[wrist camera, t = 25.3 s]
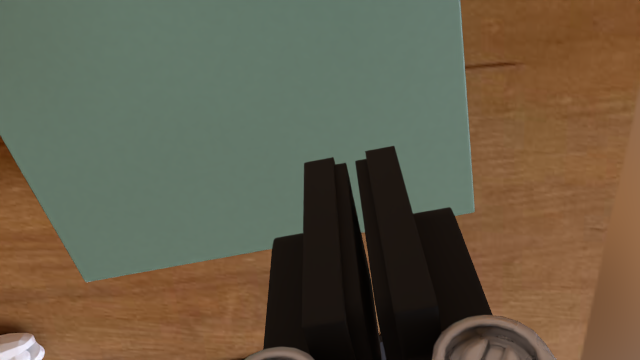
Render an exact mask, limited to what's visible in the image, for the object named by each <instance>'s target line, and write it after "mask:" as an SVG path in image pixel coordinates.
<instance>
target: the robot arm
mask: <svg viewBox="0 0 640 360" xmlns="http://www.w3.org/2000/svg"><path fill="white" fill-rule="evenodd" d="M365 153H366V159H362V160H357V161H355V164H356V171H357V178H358V186H359V193H360V200H361V207H362V214H363V221H364V228H365V235H366V242H367V249H368V256H369V263H370V270H371V277H372V284H371V278H370V273H369V268H368V263H367V258H366V254H365V249H364V244H363V240H362V235H361V230H360V225H359V221H358V216H357V211H356V207H355V202H354V197H353V192H352V188H351V183H350V178H349V174H348V169H347V165H346V163H341V164H336V165H335V161H334V158H333V157H331V158H326V159H321V160H315V161H310V162H305V163H304V200H303V233H300V234H294V235H289V236H283V237H277V238H275V239H274V240H273V246H272V257H271V269H270V280H269V292H268V303H267V314H266V326H265V337H264V349H263V350H262V351H259V352H257V353H255V354H252V355H250V356H249V357H247V358H246V359H244V360H382V355H381V348H380V341H379V334H378V326H377V319H376V312H375V305H376V311H377V317H378V322H379V327H380V332H381V337H382V342H383V346H384V351H385V356H386V360H556V358H555V357H554V355H553V354H552V352H551V351H550V350H549V348H548V347H547V345H546V344H545V342H544V341H543V340H542V339H541V338H540V337H539V336H538V335H537V334H536V333H535V332H534V331H533V330H532V329H530V328H528V327H527V326H525V325H523V324H522V323H520V322H518V321H515V320H512V319H509V318H506V317H503V316H493V315H492V313H491V310H490V307H489V305H488V302H487V299H486V297H485V294H484V292H483V289H482V286H481V284H480V281H479V278H478V276H477V273H476V271H475V268H474V265H473V263H472V260H471V257H470V255H469V252H468V250H467V247H466V244H465V242H464V239H463V236H462V234H461V231H460V229H459V226H458V223H457V221H456V218H455V216H454V213H453V211H452V209H451V208H450V207H448V208H442V209H436V210H431V211H425V212H419V213H414V214H413V212H412V208H411V204H410V201H409V197H408V194H407V190H406V186H405V183H404V179H403V175H402V172H401V168H400V164H399V161H398V157H397V153H396V150H395V146H390V147H384V148H379V149H374V150H368V151H365ZM372 285H373V291H372ZM373 292H374V298H373ZM374 299H375V305H374Z"/></svg>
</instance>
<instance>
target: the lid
mask: <svg viewBox="0 0 640 360" xmlns="http://www.w3.org/2000/svg"><path fill="white" fill-rule="evenodd" d="M0 136H1V138H2V139H3V141H4V143H5V144H6V146H7V148H8V150H9V151H10V153H11V155H12V156H13V158H14V160H15V162H16V163H17V165H18V167H19V169H20V170H21V172H22V174H23V175H24V177H25V179H26V181H27V182H28V184H29V186H30V187H31V189H32V191H33V193H34V194H35V196H36V198H37V200H38V201H39V203H40V205H41V206H42V208H43V210H44V212H45V213H46V215H47V217H48V219H49V220H50V222H51V224H52V225H53V227H54V229H55V231H56V232H57V234H58V236H59V237H60V239H61V241H62V243H63V244H64V246H65V248H66V250H67V251H68V253H69V255H70V256H71V258H72V260H73V262H74V263H75V265H76V267H77V268H78V270H79V272H80V274H81V275H82V277H83V279H84V281H85V282H90V281H95V280H101V279H107V278H112V277H118V276H123V275H129V274H134V273H140V272H145V271H151V270H156V269H162V268H168V267H173V266H179V265H184V264H190V263H195V262H201V261H206V260H212V259H218V258H223V257H229V256H234V255H240V254H245V253H251V252H256V251H262V250H267V249H272V246H273V240H274V239H275V238H277V237H283V236H289V235H294V234H300V233H303V200H304V163H305V162H310V161H315V160H321V159H326V158H331V157H333V158H334V161H335V165H336V164H341V163H346V165H347V169H348V174H349V178H350V183H351V188H352V192H353V197H354V202H355V207H356V211H357V216H358V221H359V225H360V230H361V233H362V232H365V228H364V221H363V214H362V207H361V200H360V193H359V186H358V178H357V171H356V164H355V161H357V160H362V159H366V153H365V151H368V150H374V149H379V148H384V147H390V146H395V150H396V153H397V157H398V161H399V164H400V168H401V172H402V175H403V179H404V183H405V186H406V190H407V194H408V197H409V201H410V204H411V208H412V212H413V214H414V213H419V212H425V211H431V210H436V209H442V208H448V207H450V208H451V209H452V211H453V213H454V216H456V215H462V214H467V213H473V212H474V211H475V208H474V193H473V179H472V164H471V150H470V135H469V120H468V106H467V91H466V77H465V62H464V47H463V33H462V18H461V4H460V0H0Z"/></svg>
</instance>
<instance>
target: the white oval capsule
mask: <svg viewBox="0 0 640 360" xmlns="http://www.w3.org/2000/svg"><path fill="white" fill-rule="evenodd" d="M44 354H45V350H44V348H43V347H42V346H41V345H39V344H38V343H37V342H36V340H35V338H34V336H33V334H30V333H9V334H5V335H0V360H42V358H43V356H44Z"/></svg>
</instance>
